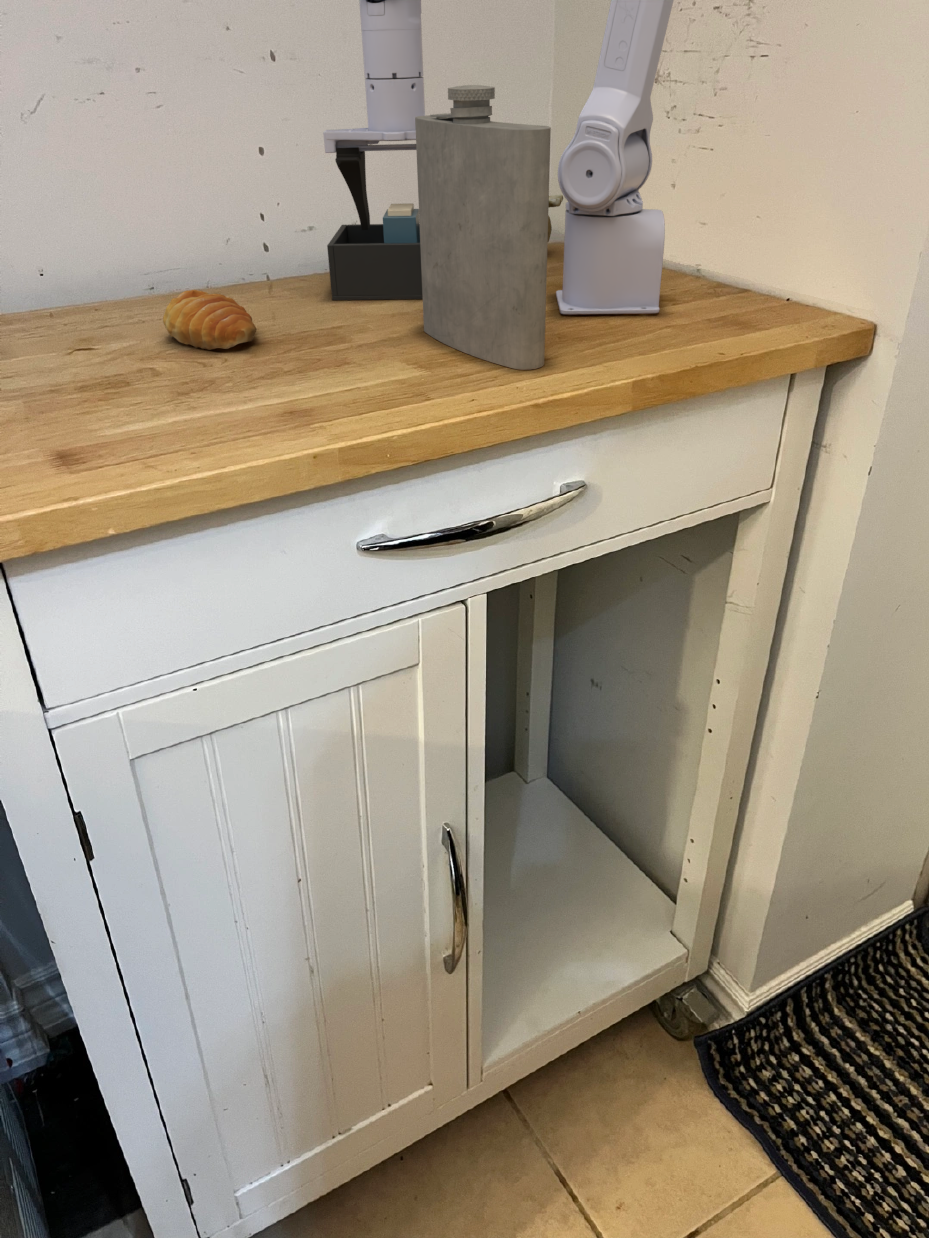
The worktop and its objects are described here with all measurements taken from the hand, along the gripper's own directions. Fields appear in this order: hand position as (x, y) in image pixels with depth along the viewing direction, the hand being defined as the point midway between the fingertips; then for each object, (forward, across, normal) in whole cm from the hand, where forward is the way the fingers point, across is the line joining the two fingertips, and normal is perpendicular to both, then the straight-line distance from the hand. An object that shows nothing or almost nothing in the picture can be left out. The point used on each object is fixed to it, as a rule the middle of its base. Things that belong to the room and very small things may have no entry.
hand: (402, 227), depth 98 cm
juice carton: (+6, 0, 0) cm, 6 cm away
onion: (+6, +13, +15) cm, 21 cm away
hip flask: (+6, +8, -22) cm, 25 cm away
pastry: (+6, -16, -19) cm, 26 cm away
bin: (+6, 0, 0) cm, 6 cm away
